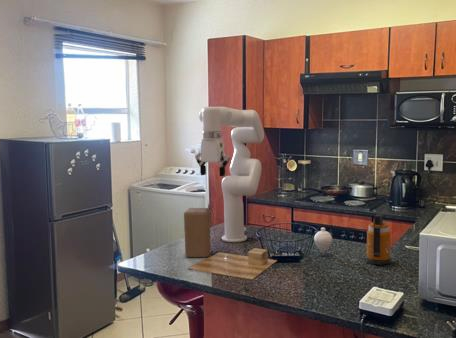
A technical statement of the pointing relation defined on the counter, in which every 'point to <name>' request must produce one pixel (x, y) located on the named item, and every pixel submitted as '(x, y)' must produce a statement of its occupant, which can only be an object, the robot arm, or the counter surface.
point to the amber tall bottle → (378, 241)
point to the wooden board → (231, 265)
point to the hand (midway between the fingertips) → (212, 175)
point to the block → (197, 232)
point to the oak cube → (257, 256)
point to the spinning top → (323, 240)
